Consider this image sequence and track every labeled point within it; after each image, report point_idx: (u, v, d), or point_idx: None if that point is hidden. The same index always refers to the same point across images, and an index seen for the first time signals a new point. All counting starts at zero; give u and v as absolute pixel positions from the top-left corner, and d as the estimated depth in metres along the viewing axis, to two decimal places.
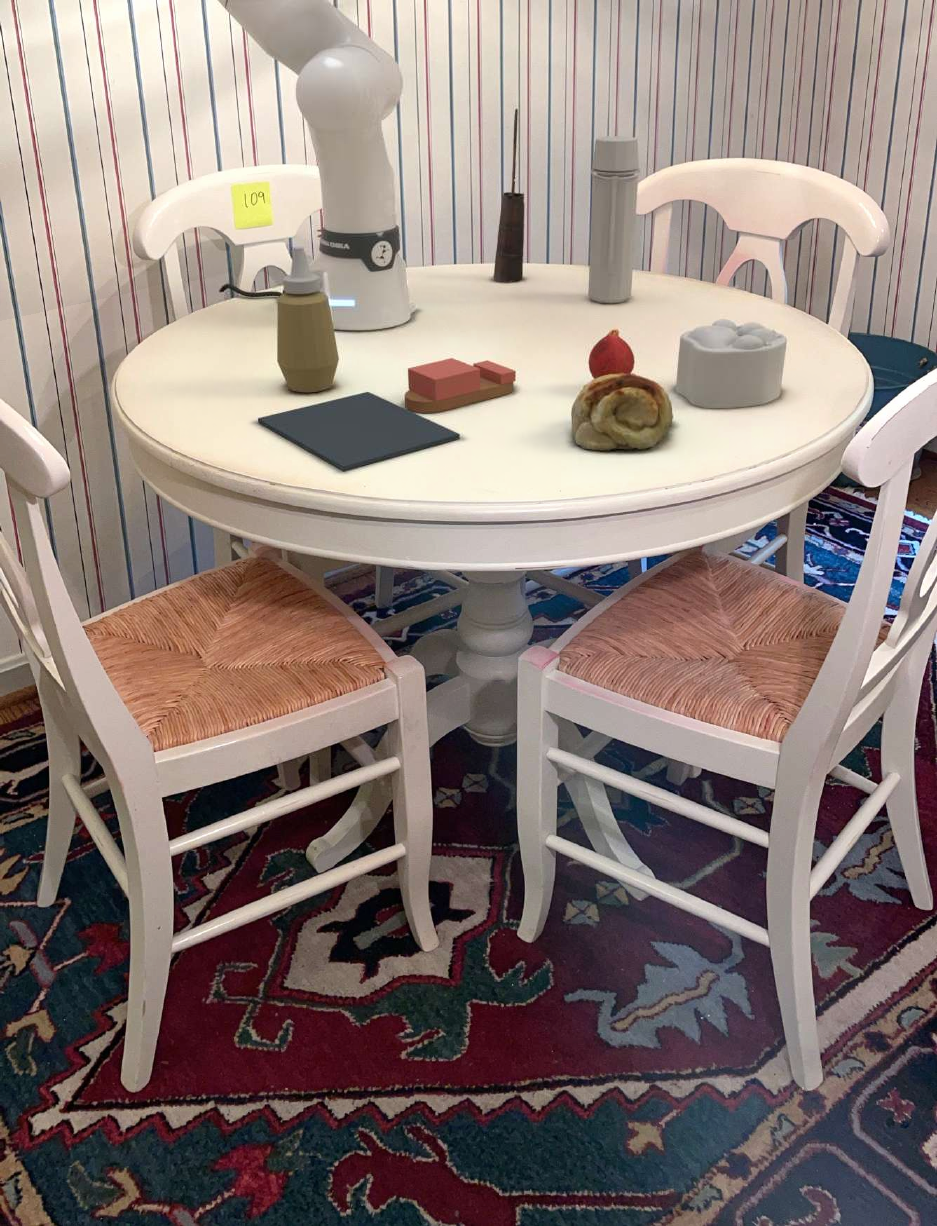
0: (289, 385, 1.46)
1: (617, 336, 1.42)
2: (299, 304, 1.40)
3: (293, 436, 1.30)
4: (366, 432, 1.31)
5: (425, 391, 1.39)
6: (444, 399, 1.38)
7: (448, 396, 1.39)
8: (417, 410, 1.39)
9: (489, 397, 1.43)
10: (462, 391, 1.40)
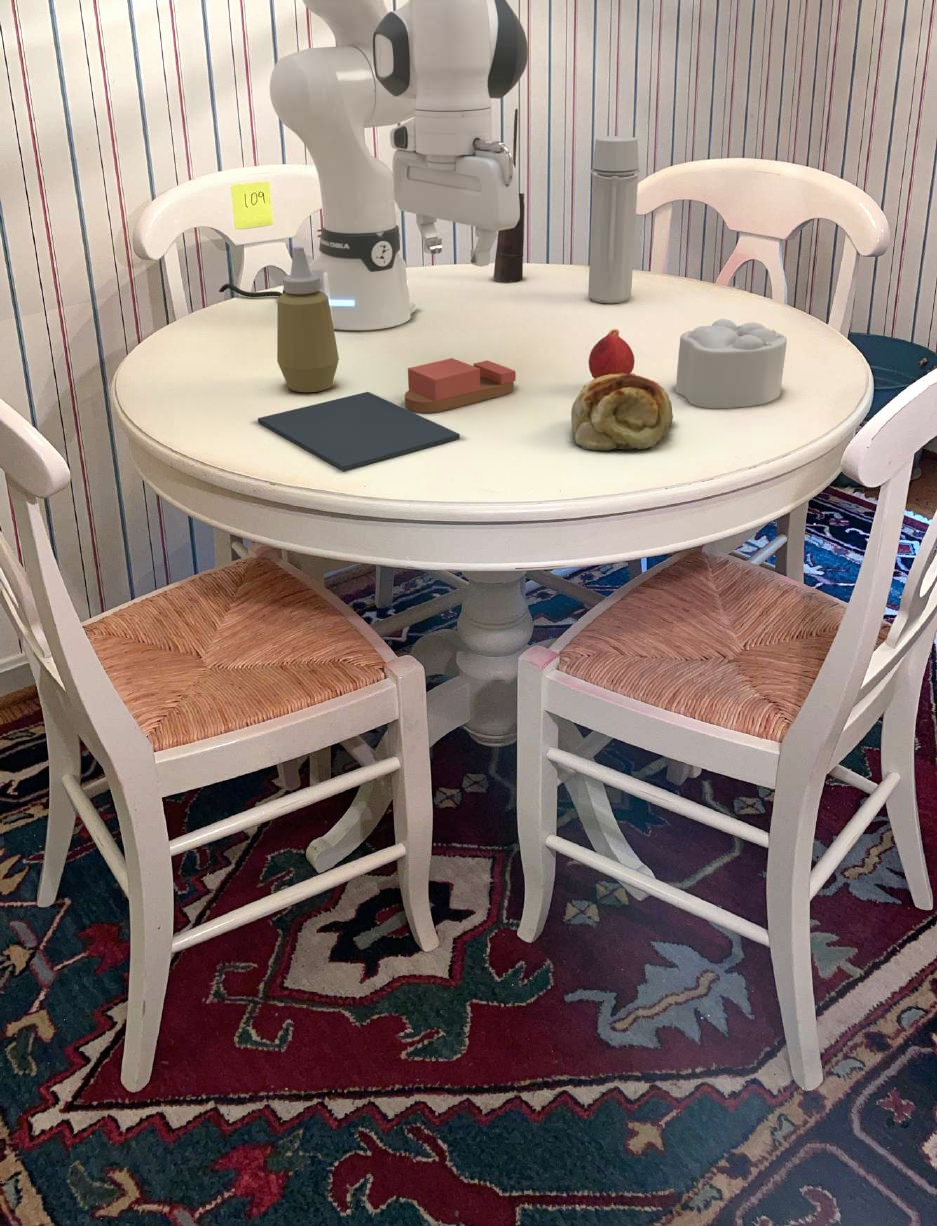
0: (289, 385, 1.46)
1: (617, 336, 1.42)
2: (299, 304, 1.40)
3: (293, 436, 1.30)
4: (366, 432, 1.31)
5: (425, 391, 1.39)
6: (444, 399, 1.38)
7: (448, 396, 1.39)
8: (417, 410, 1.39)
9: (489, 397, 1.43)
10: (462, 391, 1.40)
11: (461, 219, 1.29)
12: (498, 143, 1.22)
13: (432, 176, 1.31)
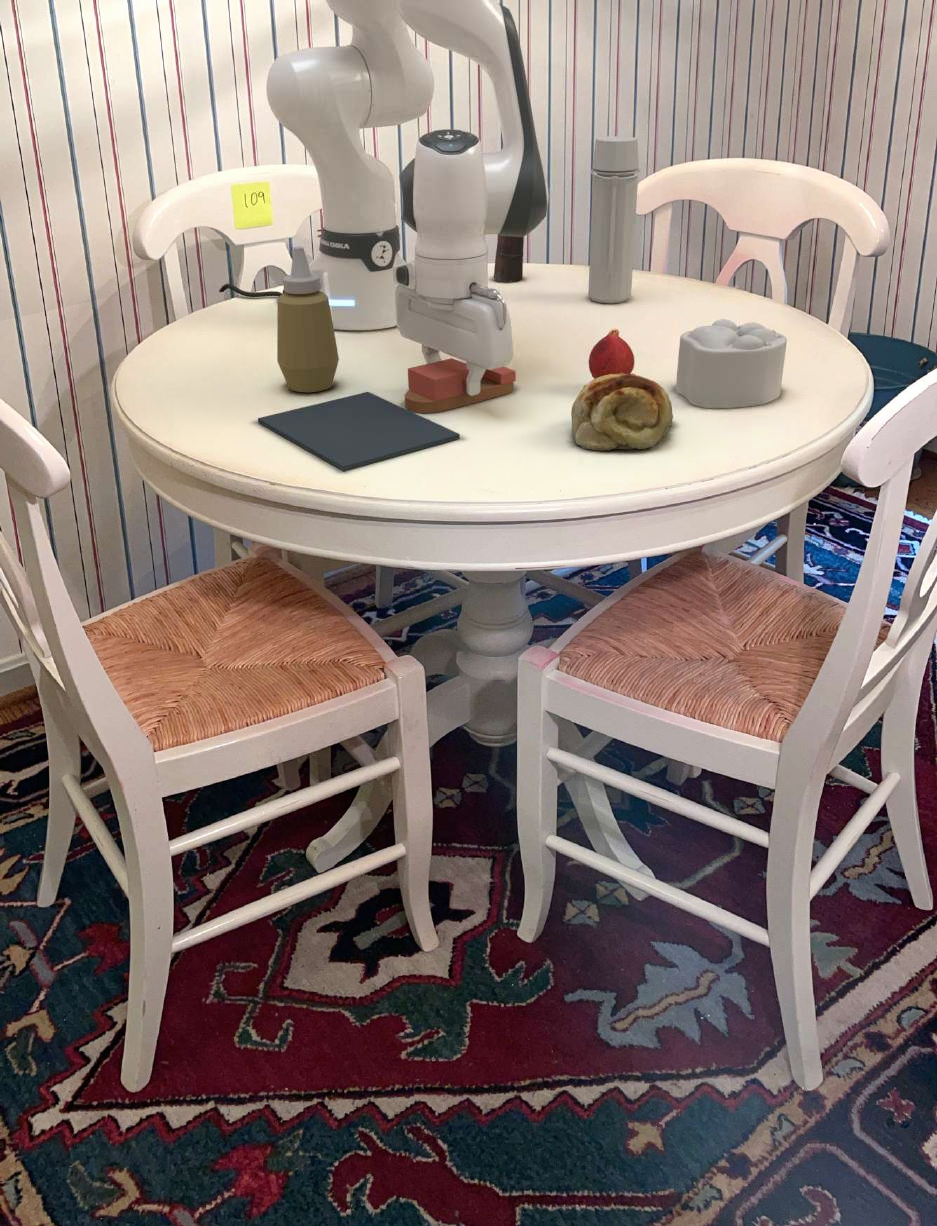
0: (289, 385, 1.46)
1: (617, 336, 1.42)
2: (299, 303, 1.40)
3: (293, 436, 1.30)
4: (366, 432, 1.31)
5: (425, 391, 1.39)
6: (444, 399, 1.38)
7: (448, 396, 1.39)
8: (417, 410, 1.39)
9: (489, 397, 1.43)
10: (462, 391, 1.40)
11: (458, 355, 1.36)
12: (493, 291, 1.30)
13: (432, 312, 1.39)
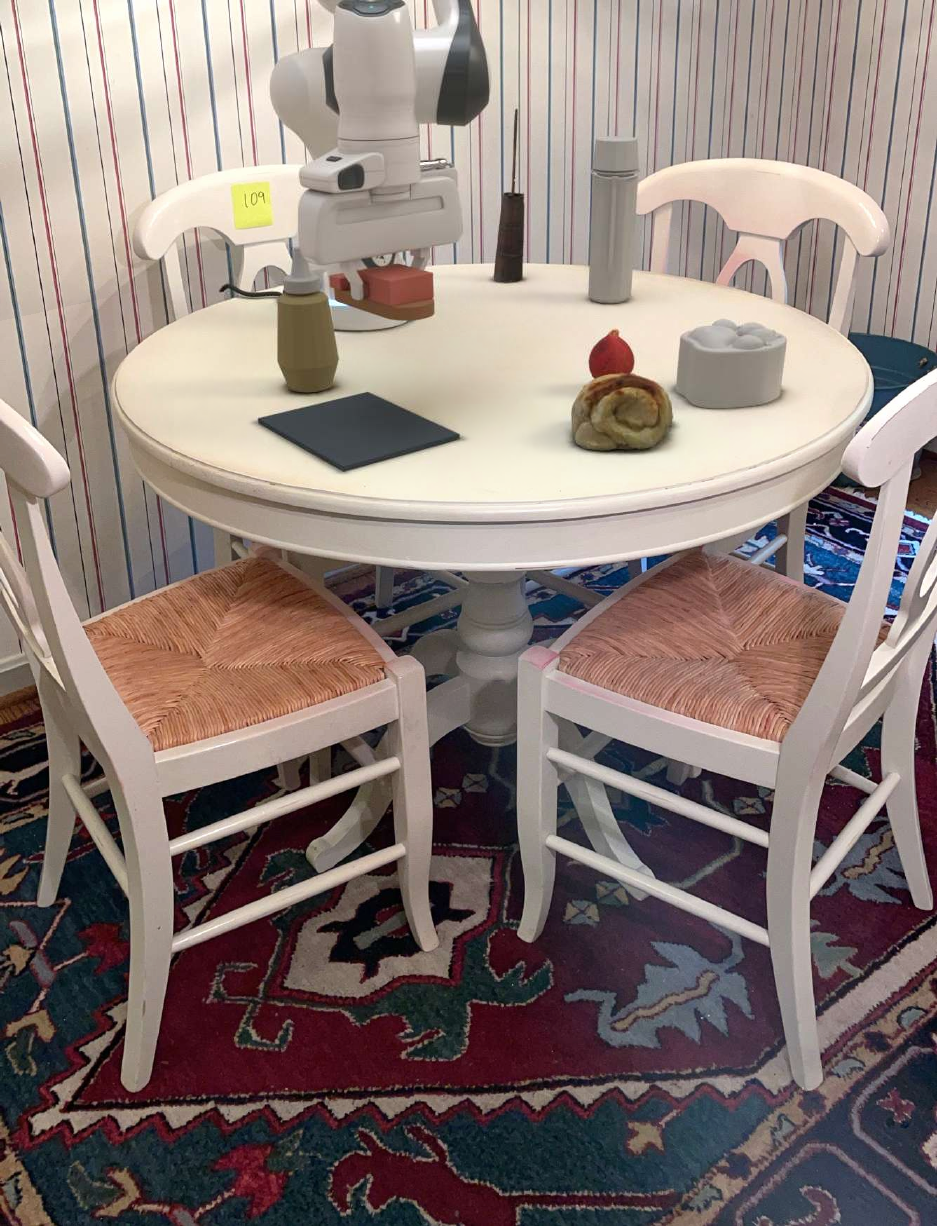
0: (289, 385, 1.46)
1: (617, 336, 1.42)
2: (299, 303, 1.40)
3: (293, 436, 1.30)
4: (366, 432, 1.31)
5: (418, 294, 1.25)
6: None
7: None
8: (431, 313, 1.25)
9: None
10: None
11: (419, 244, 1.26)
12: (444, 159, 1.26)
13: (374, 212, 1.21)
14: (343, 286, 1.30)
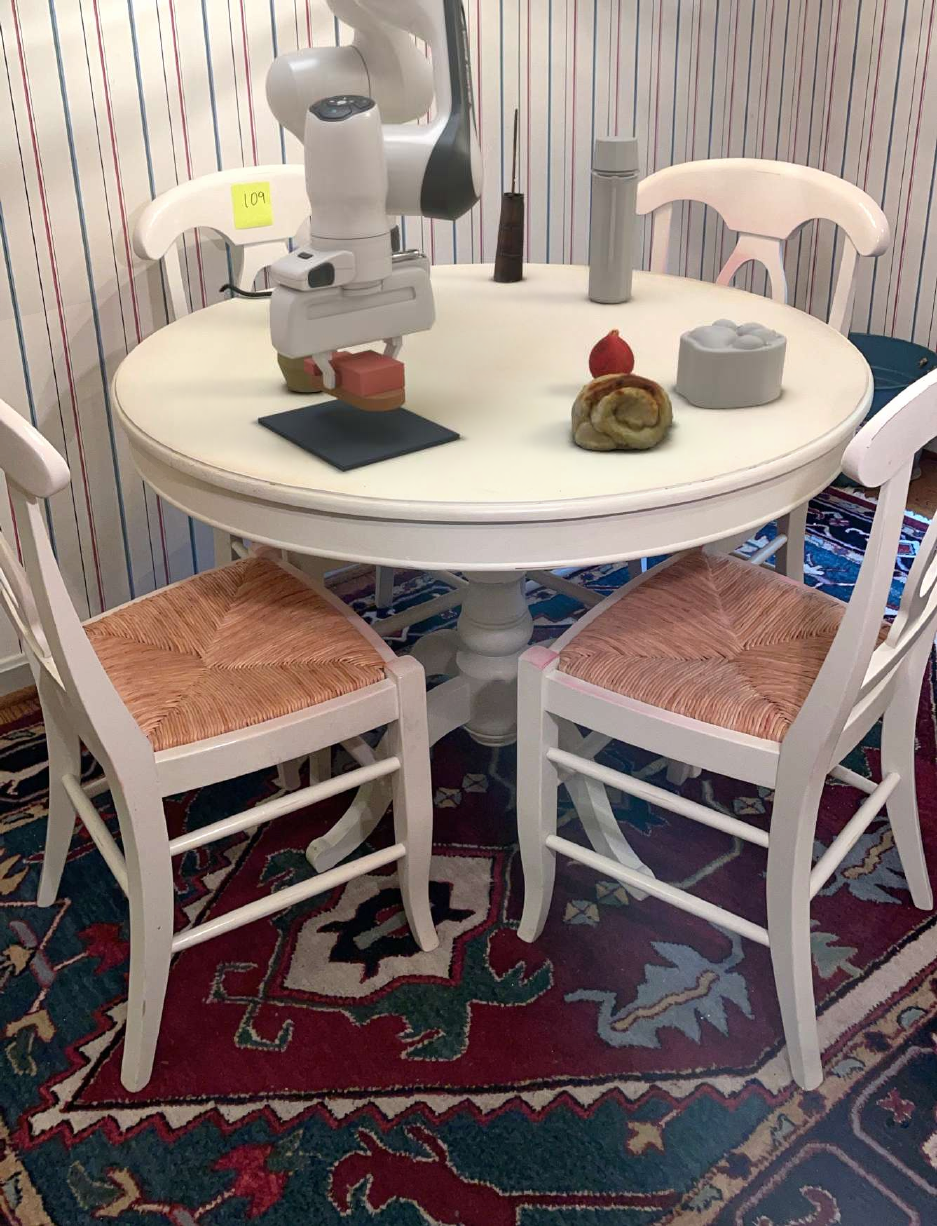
0: (289, 385, 1.46)
1: (617, 336, 1.42)
2: None
3: (293, 436, 1.30)
4: (366, 432, 1.31)
5: (389, 384, 1.26)
6: None
7: None
8: (402, 403, 1.26)
9: None
10: None
11: (390, 334, 1.28)
12: (417, 250, 1.27)
13: (345, 306, 1.23)
14: (317, 371, 1.32)
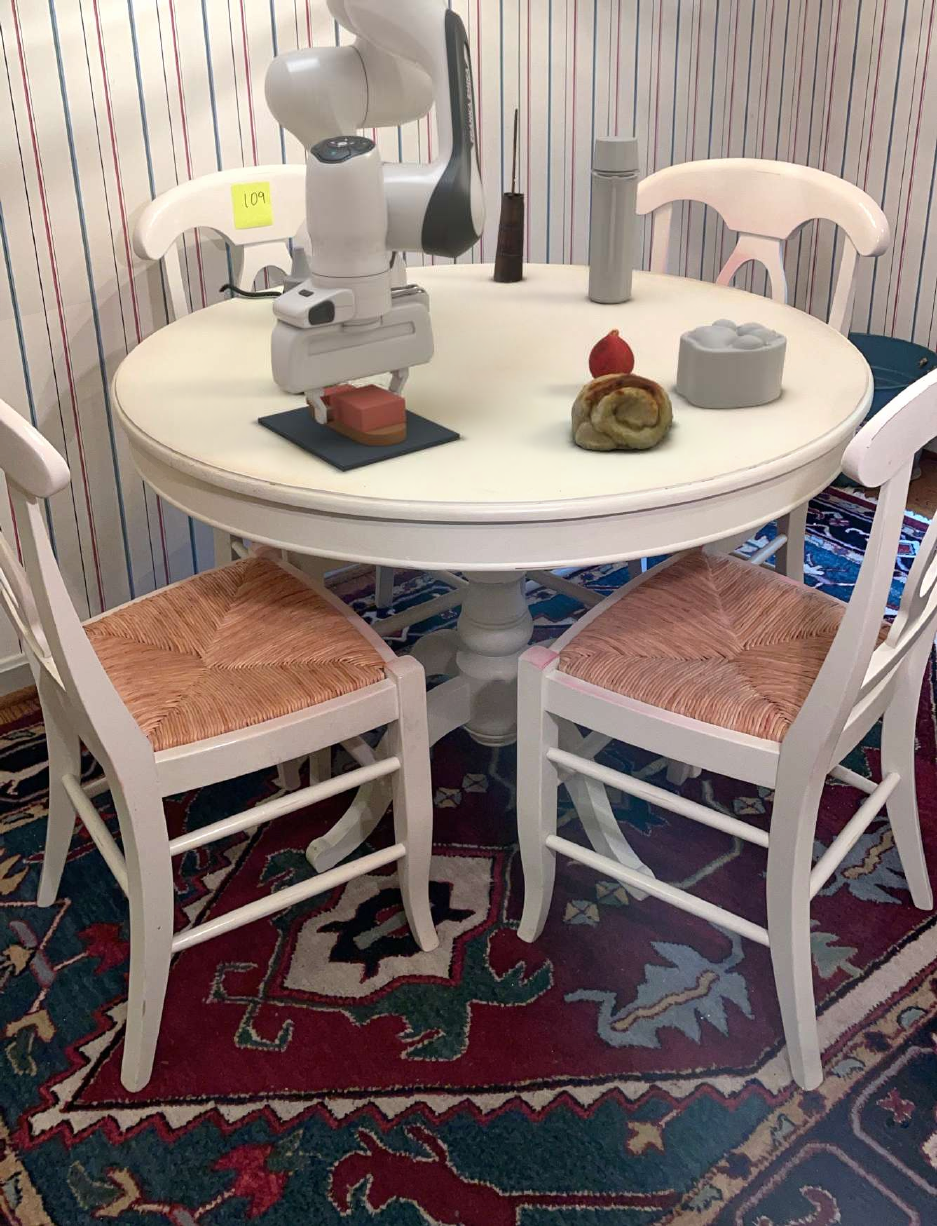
0: None
1: (617, 336, 1.42)
2: None
3: (293, 436, 1.30)
4: None
5: (390, 419, 1.28)
6: None
7: None
8: (403, 438, 1.28)
9: None
10: None
11: (390, 368, 1.30)
12: (416, 285, 1.29)
13: (345, 341, 1.25)
14: None
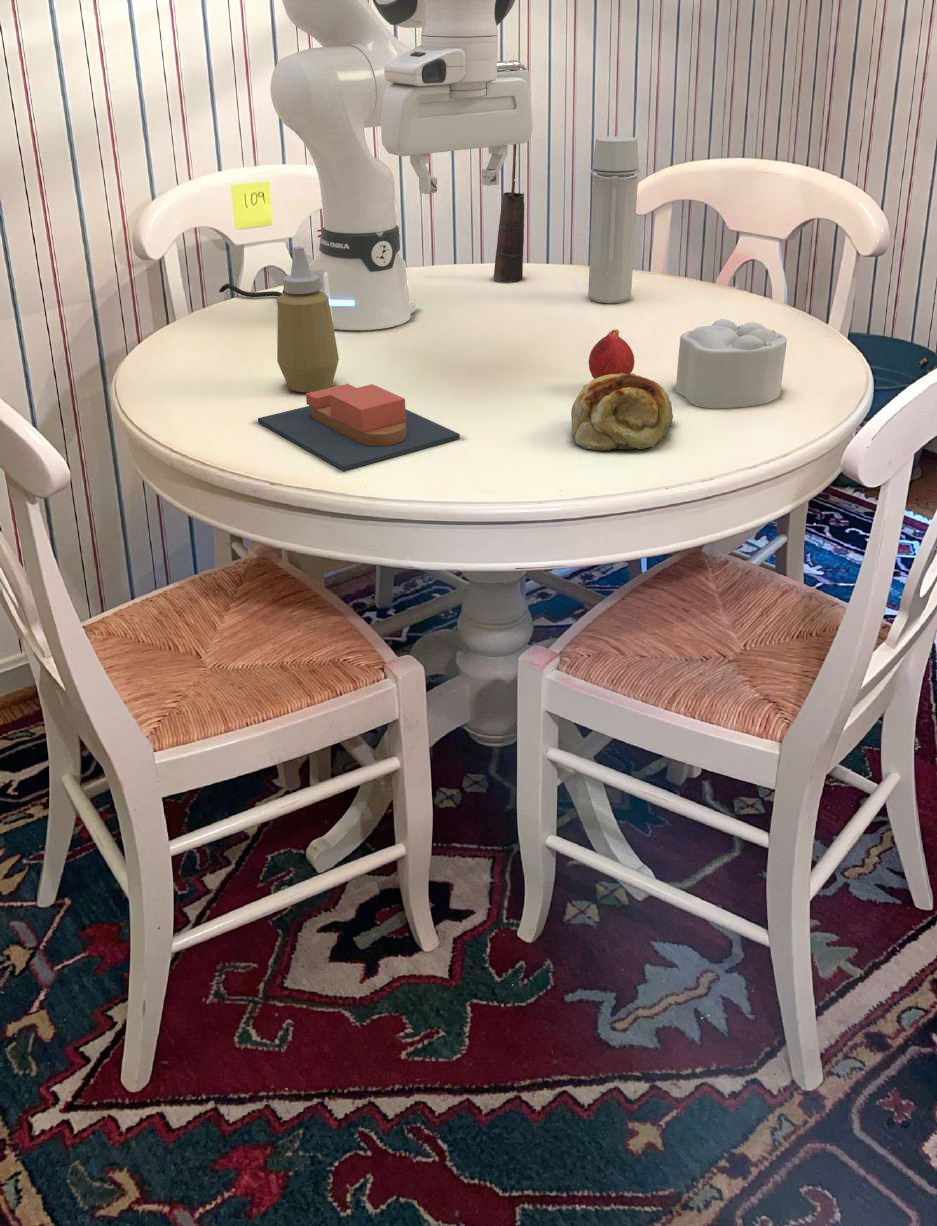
0: (289, 385, 1.46)
1: (617, 336, 1.42)
2: (299, 303, 1.40)
3: (293, 436, 1.30)
4: None
5: (390, 419, 1.28)
6: None
7: None
8: (403, 438, 1.28)
9: None
10: None
11: (491, 142, 1.34)
12: (518, 61, 1.33)
13: (452, 108, 1.29)
14: (319, 405, 1.34)
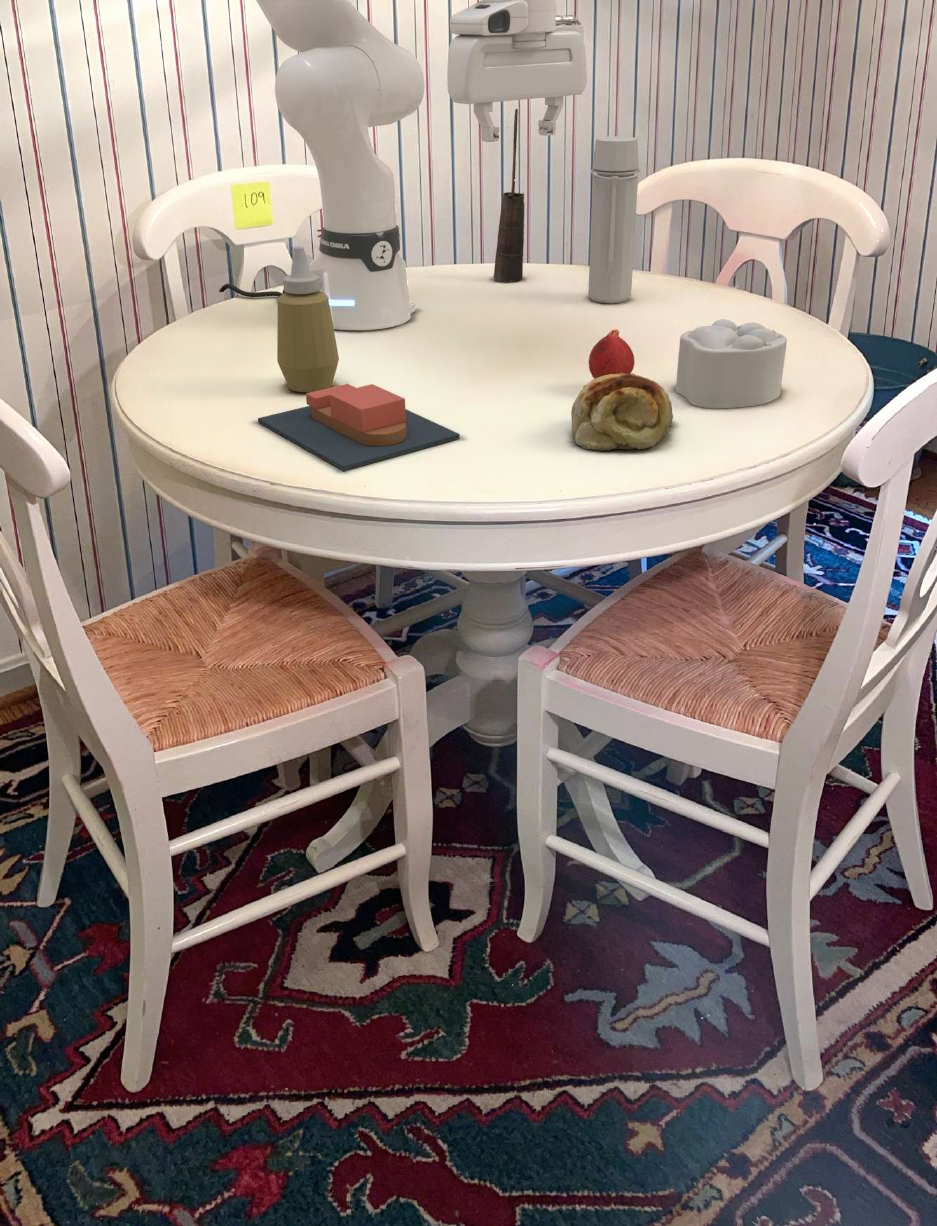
0: (289, 385, 1.46)
1: (617, 336, 1.42)
2: (299, 303, 1.40)
3: (293, 436, 1.30)
4: None
5: (390, 419, 1.28)
6: None
7: None
8: (403, 438, 1.28)
9: None
10: None
11: (549, 92, 1.41)
12: (573, 16, 1.41)
13: (514, 58, 1.36)
14: (319, 405, 1.34)
